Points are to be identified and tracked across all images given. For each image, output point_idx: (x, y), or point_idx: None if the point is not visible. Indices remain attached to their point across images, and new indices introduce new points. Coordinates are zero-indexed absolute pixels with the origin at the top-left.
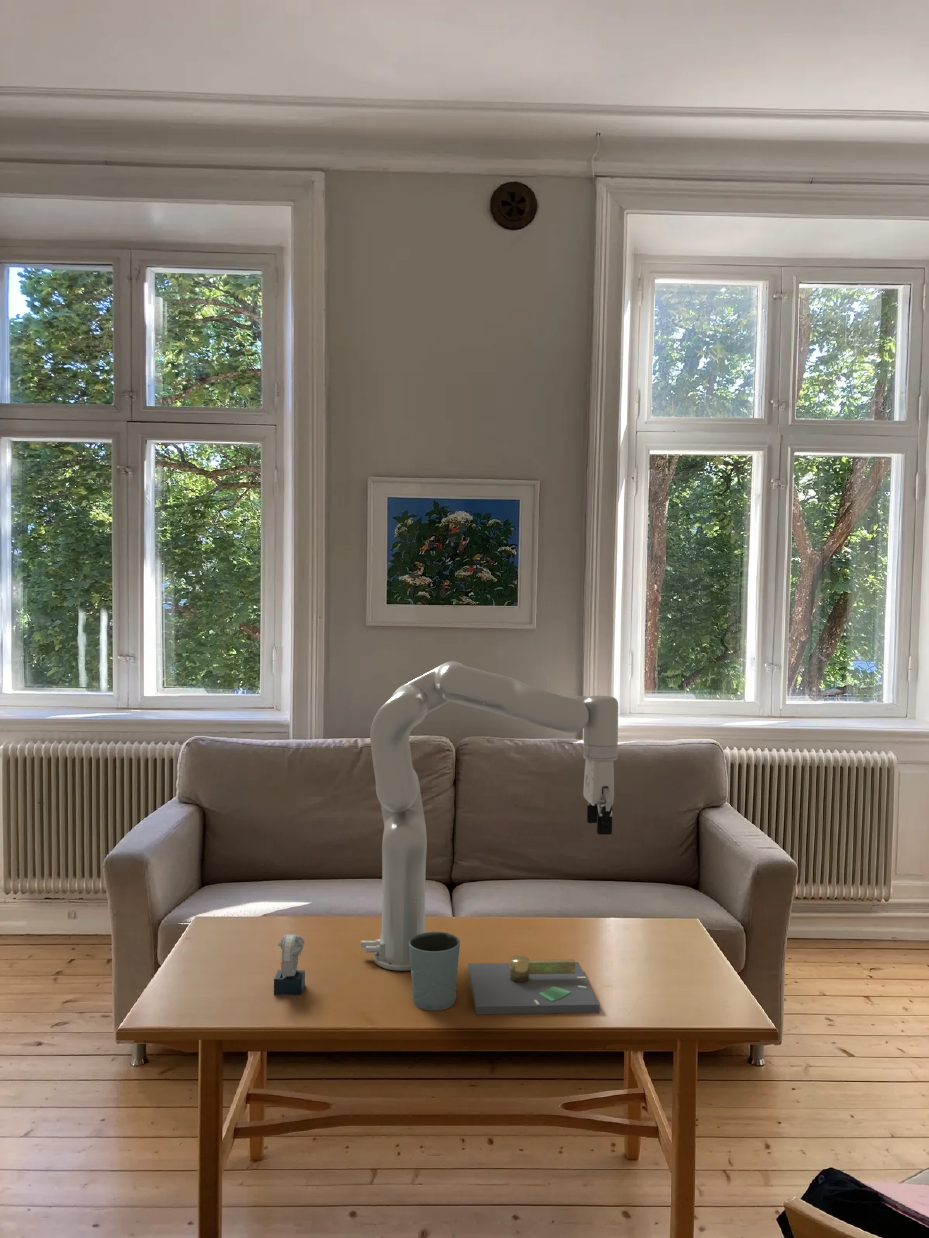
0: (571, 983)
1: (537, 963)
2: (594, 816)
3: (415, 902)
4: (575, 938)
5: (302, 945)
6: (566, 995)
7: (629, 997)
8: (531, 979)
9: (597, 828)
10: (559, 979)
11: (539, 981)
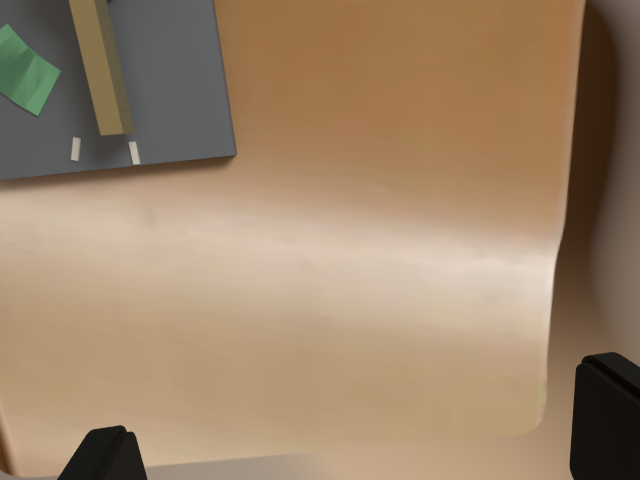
0: (95, 123)
1: (73, 14)
2: (628, 471)
3: None
4: (429, 166)
5: None
6: (17, 102)
7: (95, 256)
8: None
9: (60, 476)
10: None
11: None
